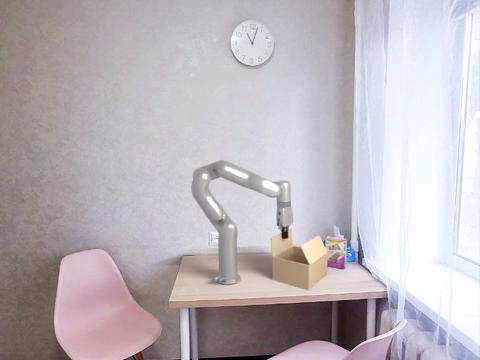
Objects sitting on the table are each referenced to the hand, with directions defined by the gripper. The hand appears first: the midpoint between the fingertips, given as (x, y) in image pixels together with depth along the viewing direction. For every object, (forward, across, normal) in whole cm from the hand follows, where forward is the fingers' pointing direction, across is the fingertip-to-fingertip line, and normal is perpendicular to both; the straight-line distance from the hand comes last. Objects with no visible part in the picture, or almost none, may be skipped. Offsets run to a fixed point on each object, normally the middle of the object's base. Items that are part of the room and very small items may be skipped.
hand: (285, 238), depth 165 cm
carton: (+19, -1, -9) cm, 21 cm away
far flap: (+2, -1, +1) cm, 3 cm away
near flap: (+3, 0, -17) cm, 17 cm away
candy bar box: (+20, +23, -18) cm, 36 cm away
